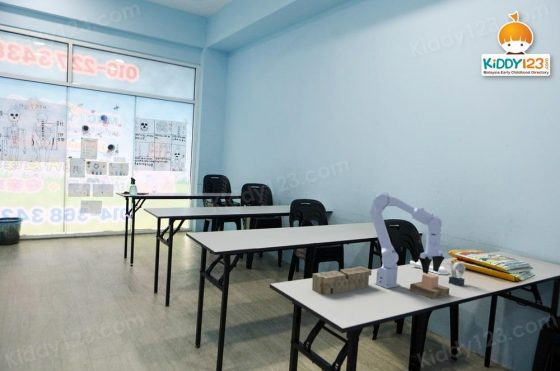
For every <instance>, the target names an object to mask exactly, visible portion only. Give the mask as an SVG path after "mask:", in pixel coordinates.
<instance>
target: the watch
mask: <svg viewBox="0 0 560 371" xmlns="http://www.w3.org/2000/svg"><path fill="white" fill-rule="evenodd" d="M466 269H467V267H466V265H465V264H464V263H462V262H460V261H454V263H453V264H452V266H451V269H450V272H451V276H448V284H450V285H454V286H457V287H461V286H465V278H463V275H464V273H465V271H466ZM456 270H457V271H456ZM457 272H458V273H457Z"/></svg>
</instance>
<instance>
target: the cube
mask: <svg viewBox="0 0 560 371" xmlns="http://www.w3.org/2000/svg"><path fill="white" fill-rule="evenodd" d="M439 277H440V276H439V275H436V274H433V273H429V272H428V274H426V273H423V274H422V276H421V282H422V286H425V287H428V288H431V289H432V288H436V287H438V285H439Z"/></svg>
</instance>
